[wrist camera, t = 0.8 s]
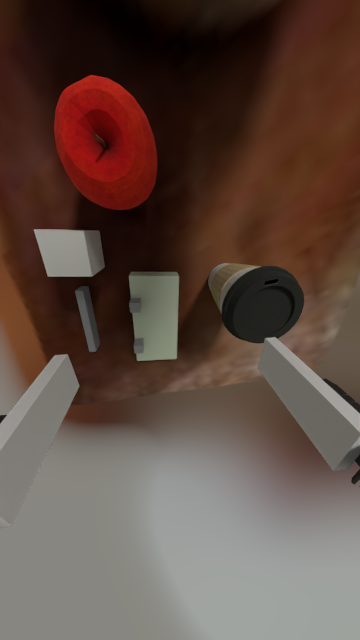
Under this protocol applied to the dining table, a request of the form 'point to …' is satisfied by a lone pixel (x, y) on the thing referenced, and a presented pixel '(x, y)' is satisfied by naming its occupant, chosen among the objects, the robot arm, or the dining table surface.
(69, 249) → the gray rectangular prism
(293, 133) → the dining table surface
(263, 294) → the coffee cup
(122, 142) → the apple
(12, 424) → the robot arm
